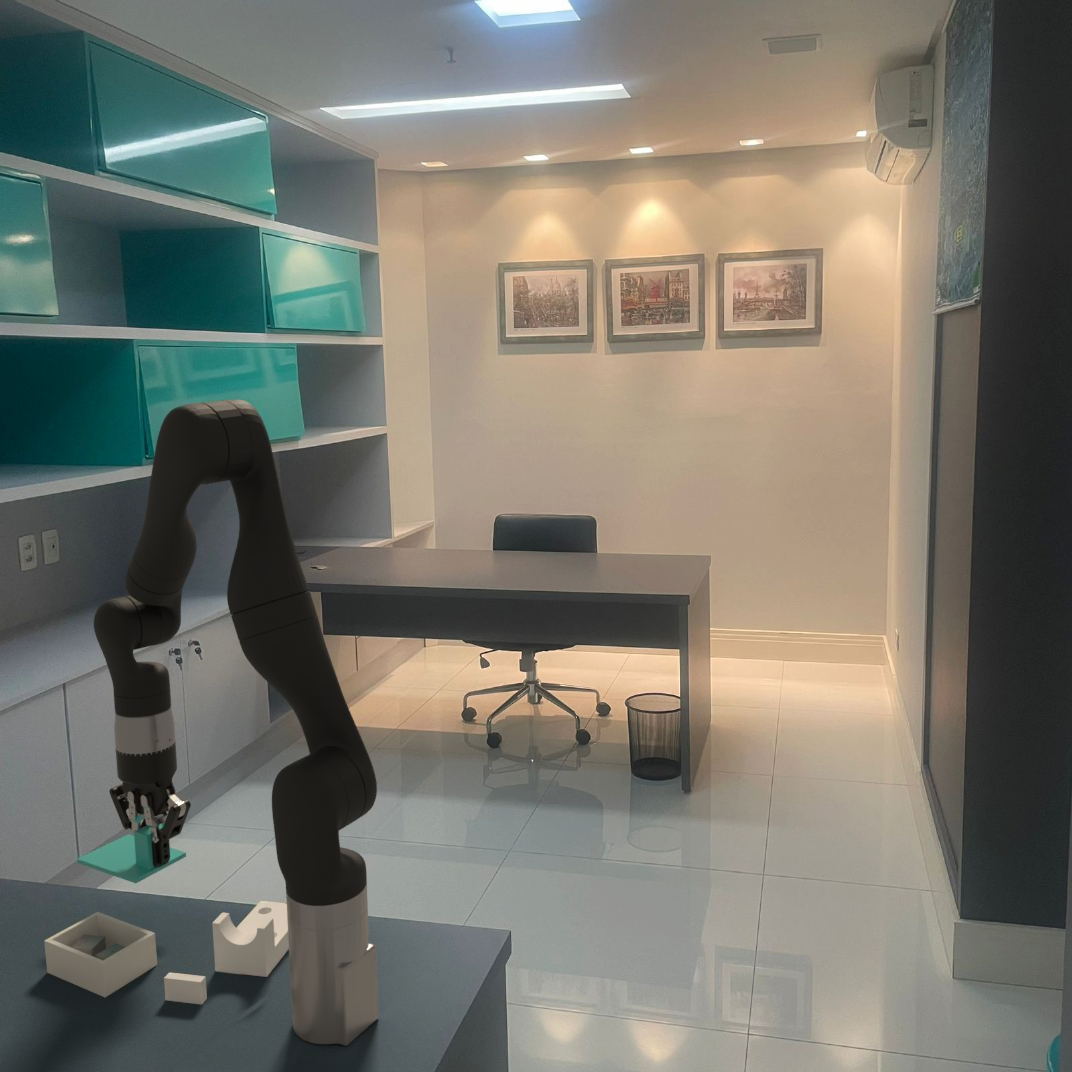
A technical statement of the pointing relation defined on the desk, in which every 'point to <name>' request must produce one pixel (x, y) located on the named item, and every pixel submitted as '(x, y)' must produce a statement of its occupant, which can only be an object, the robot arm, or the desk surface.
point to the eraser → (185, 988)
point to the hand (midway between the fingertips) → (153, 861)
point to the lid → (129, 857)
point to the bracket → (251, 940)
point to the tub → (97, 972)
